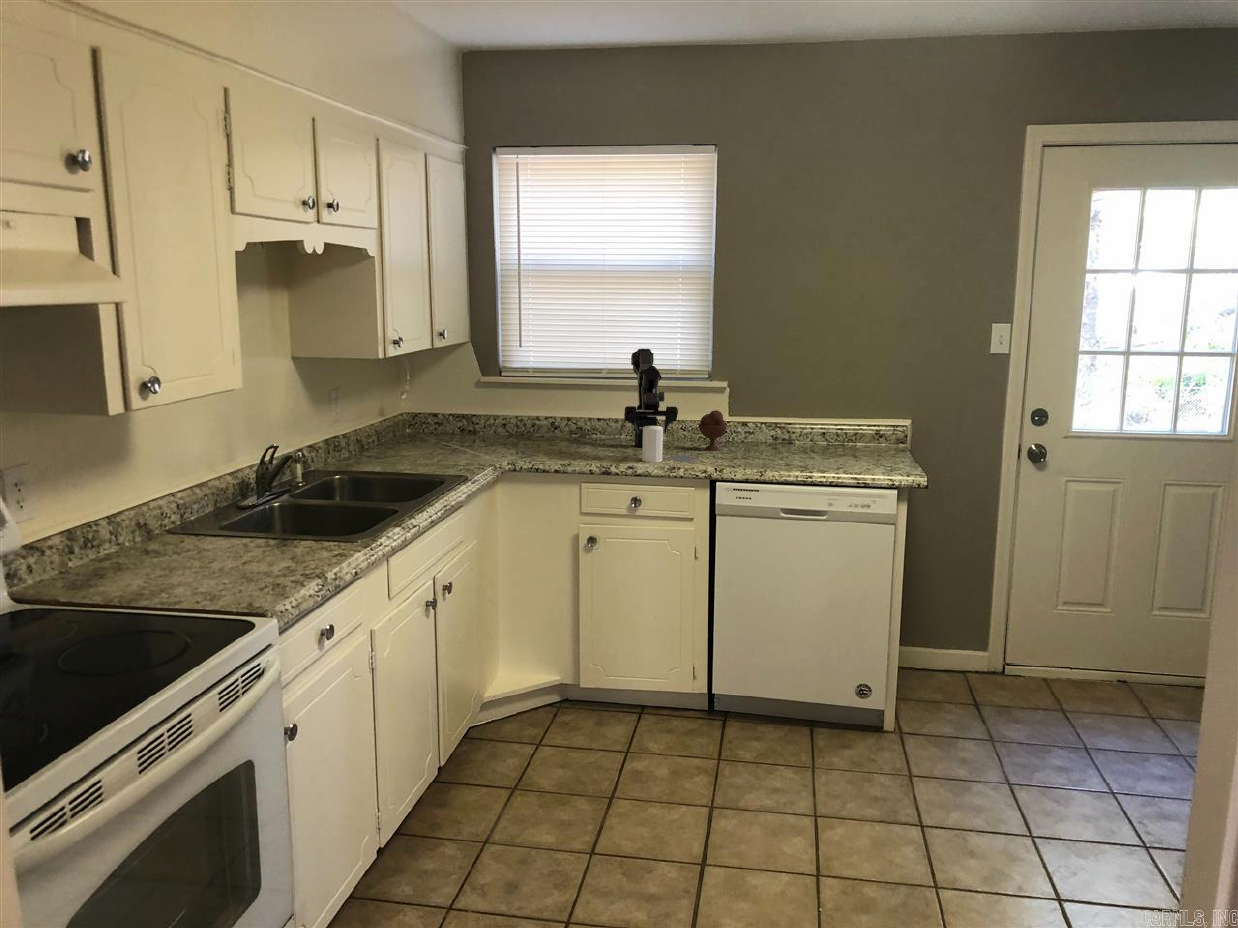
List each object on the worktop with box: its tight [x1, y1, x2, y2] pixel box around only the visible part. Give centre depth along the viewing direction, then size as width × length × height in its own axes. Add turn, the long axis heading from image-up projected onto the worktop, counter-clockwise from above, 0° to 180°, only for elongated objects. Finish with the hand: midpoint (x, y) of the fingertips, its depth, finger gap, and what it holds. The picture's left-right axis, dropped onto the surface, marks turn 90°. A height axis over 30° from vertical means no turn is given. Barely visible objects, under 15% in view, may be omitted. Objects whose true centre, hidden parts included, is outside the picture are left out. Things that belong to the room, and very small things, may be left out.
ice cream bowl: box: [698, 409, 728, 452], centre depth 352 cm, size 11×11×15 cm
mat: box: [664, 454, 700, 463], centre depth 332 cm, size 9×9×1 cm
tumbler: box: [641, 425, 664, 463], centre depth 327 cm, size 7×7×12 cm
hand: (652, 433), depth 328 cm, fingers open, 9 cm apart
